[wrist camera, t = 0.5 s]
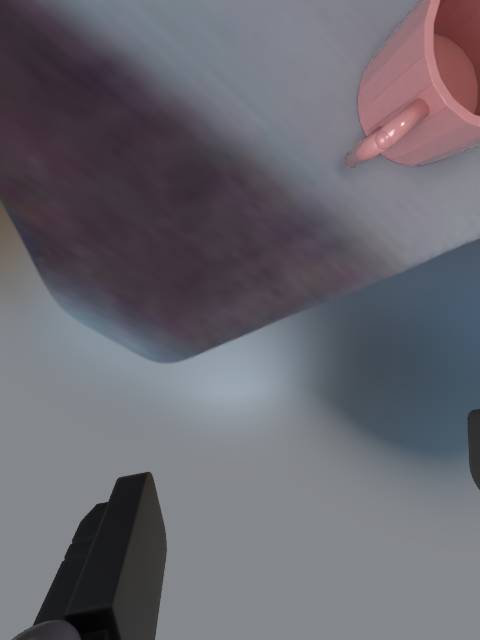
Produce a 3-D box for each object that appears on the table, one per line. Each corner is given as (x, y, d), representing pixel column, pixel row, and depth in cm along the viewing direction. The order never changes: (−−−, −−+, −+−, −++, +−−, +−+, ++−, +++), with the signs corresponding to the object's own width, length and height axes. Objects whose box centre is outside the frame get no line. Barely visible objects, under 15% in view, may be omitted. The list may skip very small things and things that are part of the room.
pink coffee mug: (433, 1, 33) (539, -118, 23) (500, 110, 35) (627, 50, 25) (298, 119, 34) (339, 60, 23) (371, 219, 36) (440, 207, 26)
